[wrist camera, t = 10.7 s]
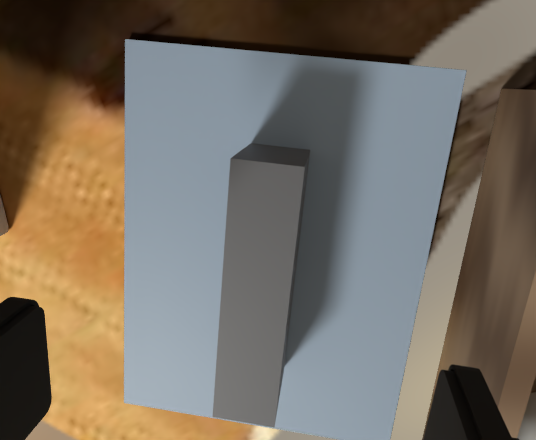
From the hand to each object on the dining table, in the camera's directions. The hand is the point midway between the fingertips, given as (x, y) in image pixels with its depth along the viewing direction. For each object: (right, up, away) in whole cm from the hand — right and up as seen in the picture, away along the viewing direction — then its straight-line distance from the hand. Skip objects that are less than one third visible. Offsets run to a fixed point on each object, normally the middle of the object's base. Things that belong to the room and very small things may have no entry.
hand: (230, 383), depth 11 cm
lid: (+1, +2, +10) cm, 11 cm away
